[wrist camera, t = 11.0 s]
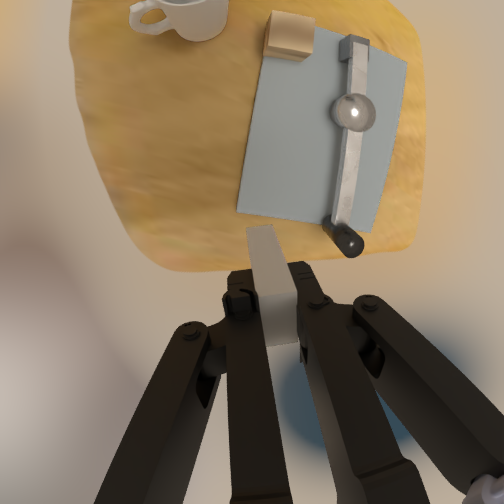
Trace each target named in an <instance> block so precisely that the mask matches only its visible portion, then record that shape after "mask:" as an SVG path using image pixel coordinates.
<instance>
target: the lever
mask: <svg viewBox="0 0 504 504" xmlns="http://www.w3.org/2000/svg"><path fill="white" fill-rule="evenodd" d="M369 46H370V40H369V39H365V38H362V37H359V36H356V35H352V34H350V35H348V36H346V37H345V38H343V39H342V40H340V50H339V62H342V63H347V64H348V81H347V95H343V96H341V97H339V98H338V99H337V100H336V102H335V104H334V107H333V115H334V118H335V120H336V122H337V124H338V125H339V126H340V127H341V128H343V136H342V145H341V153H340V162H339V169H338V177H337V184H336V191H335V198H334V204H333V210H332V214H330V215H327V216H326V217H325V218H324V219H323V222H322V228H323V230H324V231H325V232H326V234H327V235H328V236H329V237H330V238H331V239H332V241H333V242H334V243H335V244H336V246H337V247H338V248H339V249H340V250H341V252H342V253H343V254H344V255H345V256H346V257H348V258H355V257H357V256H359V255H360V254H361V253H362V251H363V249H364V240H363V239H362V238H361V237H360V236H359V235H358V234H357V233H356V232H355V231H354V230H353V229H352V228H351V227H350V226H349V222H350V216H351V211H352V205H353V200H354V194H355V187H356V181H357V174H358V167H359V160H360V152H361V144H362V135H363V132H365V131H367V130H369V129H370V128H371V127H372V126H373V124H374V123H375V120H376V110H375V107H374V104H373V103H372V101H371V100H370V99H369V98H368V97H366V84H367V63H368V62H369Z"/></svg>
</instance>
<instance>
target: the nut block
mask: <svg viewBox="0 0 504 504" xmlns="http://www.w3.org/2000/svg"><path fill="white" fill-rule="evenodd" d="M315 20H316V18H312V17H307V16H303V15H298V14H293V13H287V12H281V11H275V10H272V12H271V14H270V16H269V19H268V21H267V23H266V31H265V39H264V47H263V56H267V57H274V58H280V59H287V60H292V61H298V62H302V61H304V60H305V59H306V58H307V57H309V56H310V55H311V54H312V53H313V43H314V32H315Z"/></svg>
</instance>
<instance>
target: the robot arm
mask: <svg viewBox="0 0 504 504" xmlns="http://www.w3.org/2000/svg"><path fill="white" fill-rule="evenodd" d="M246 232H247V240H248V248H249V255H250V263H251V269H246V270H239V271H232V272H231V273H230V275H229V276H228V278H227V285H228V286H227V289H228V291H227V292H226V293H225V294H224V295H223V298H222V302H223V307H224V311H225V318H224V319H223V320H221V321H220V322H219V323H216V324H214V325H211V326H208V327H207V326H206V325H205V324H203V323H202V322H197V321H192V322H188V323H184V324H182V325H181V326H179V327H178V328H177V329H176V331H175V332H174V334H173V336H172V338H171V340H170V342H169V344H168V346H167V348H166V350H165V352H164V354H163V356H162V358H161V359H160V362H159V364H158V365H157V368H156V370H155V372H154V374H153V376H152V378H151V380H150V382H149V384H148V386H147V388H146V390H145V392H144V394H143V396H142V398H141V400H140V402H139V404H138V406H137V408H136V411H135V413H134V415H133V417H132V419H131V421H130V424H129V425H128V427H127V430H126V432H125V434H124V436H123V438H122V441H121V443H120V445H119V447H118V449H117V452H116V454H115V456H114V458H113V460H112V462H111V465H110V467H109V469H108V472H107V474H106V476H105V478H104V481H103V483H102V485H101V488H100V490H99V492H98V495H97V497H96V499H95V502H94V504H183V501H184V497H185V494H186V491H187V488H188V484H189V481H190V478H191V475H192V471H193V468H194V465H195V461H196V458H197V455H198V452H199V449H200V445H201V442H202V439H203V435H204V432H205V429H206V425H207V422H208V419H209V416H210V412H211V409H212V406H213V402H214V399H215V396H216V392H217V389H218V386H219V382H220V379H221V374H224V373H227V397H228V398H227V401H228V426H229V427H228V428H229V448H230V468H231V485H232V497H231V499H230V504H293V500H292V496H291V492H290V487H289V481H288V475H287V470H286V463H285V458H284V452H283V446H282V440H281V434H280V428H279V422H278V416H277V410H276V404H275V398H274V392H273V386H272V381H271V374H270V368H269V363H268V356H267V350H266V347H269V346H276V345H283V344H289V343H295V342H298V337H299V340H300V363H301V362H303V364H304V367H305V371H306V375H307V378H308V382H309V386H310V389H311V393H312V397H313V401H314V404H315V408H316V412H317V416H318V420H319V423H320V427H321V431H322V435H323V439H324V443H325V447H326V451H327V455H328V459H329V463H330V467H331V471H332V475H333V478H334V483H335V487H336V492H337V504H430V502H429V499H428V496H427V493H426V490H425V487H424V485H423V482H422V479H421V477H420V474H419V471H418V469H417V467H416V465H415V464H414V463H413V462H412V461H411V460H408V459H406V458H404V457H403V456H402V454H401V452H400V449H399V447H398V444H397V442H396V439H395V437H394V434H393V432H392V429H391V427H390V424H389V422H388V419H387V417H386V415H385V412H384V410H383V407H382V405H381V403H380V401H379V398H378V396H377V394H376V391H377V392H378V394H379V395H380V396H381V397H382V399H383V400H384V401H385V402H386V403H387V405H388V406H389V407H390V409H391V410H392V411H393V412H394V414H395V415H396V416H397V417H398V419H399V420H400V421H401V422H402V424H403V425H404V426H405V428H406V429H407V430H408V431H409V433H410V434H411V435H412V436H413V438H414V439H415V440H416V442H417V443H418V444H419V445H420V447H421V448H422V449H423V450H424V452H425V453H426V454H427V455H428V457H429V458H430V459H431V461H432V462H433V463H434V464H435V466H436V467H437V468H438V470H439V471H440V472H441V473H442V475H443V476H444V477H445V478H446V479H447V480H448V481H449V483H450V484H451V485H452V486H454V487H455V488H456V489H457V490H458V491H460V492H462V493H463V494H465V495H466V497H465V499H464V500H463V502H462V504H504V415H503V414H502V413H501V412H500V411H499V410H498V409H497V408H496V407H495V406H494V405H493V404H492V403H491V401H490V400H489V399H488V398H487V397H486V396H485V395H484V394H483V393H482V392H481V391H480V390H479V389H478V388H477V387H476V386H475V385H474V384H473V383H472V382H471V381H470V380H469V379H468V378H467V377H466V376H465V375H464V374H463V373H462V372H461V371H460V370H459V369H458V368H457V367H456V366H454V364H453V363H451V362H450V361H449V360H448V359H447V358H446V357H445V356H444V355H443V354H442V353H441V352H440V351H439V350H438V349H437V348H436V347H435V346H433V345H432V344H431V343H430V342H429V341H428V340H427V339H426V338H425V337H424V336H423V335H422V334H421V333H420V332H418V331H417V330H416V329H415V328H414V327H413V326H412V325H411V324H410V323H409V322H407V321H406V320H405V319H404V318H403V317H402V316H401V315H399V314H398V313H397V312H396V311H395V310H394V309H393V308H392V307H390V306H389V305H388V304H387V303H386V302H385V301H384V300H382V299H381V298H379V297H378V296H374V295H362V296H359V297H357V298H356V299H355V301H354V302H353V305H348V304H337V303H334V302H333V300H332V299H331V298H330V297H329V296H327V295H325V294H324V293H323V291H322V289H321V287H320V285H319V283H318V281H317V279H316V278H315V275H314V273H313V271H312V269H311V267H310V265H308V264H307V263H305V262H304V261H299V262H292V263H287V262H286V260H285V257H284V254H283V252H282V249H281V247H280V244H279V241H278V239H277V236H276V233H275V231H274V228H273V226H272V224H271V225H264V226H256V227H248V228H246ZM375 390H376V391H375Z"/></svg>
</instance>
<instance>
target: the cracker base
mask: <svg viewBox="0 0 504 504" xmlns="http://www.w3.org/2000/svg"><path fill="white" fill-rule="evenodd" d="M345 37H346V36H344V35H341V34H339V33H336V32H333V31H329V30H326V29H323V28H320V27H316V26H315V32H314V43H313V53H312V54H311V55H310V56H309V57H307V58H306V59H305V60H304V61H302V62H298V61H292V60H287V59H280V58H274V57H267V56H263V60H262V65H261V70H260V75H259V81H258V86H257V91H256V97H255V102H254V107H253V113H252V119H251V124H250V130H249V135H248V141H247V147H246V153H245V159H244V164H243V170H242V176H241V182H240V188H239V195H238V201H237V207H236V212H238V213H245V214H253V215H260V216H267V217H274V218H281V219H288V220H295V221H301V222H308V223H314V224H320V225H322V222H323V219H324V218H325V217H326V216H327V215H330V214H332V210H333V204H334V198H335V191H336V184H337V177H338V169H339V162H340V153H341V145H342V136H343V128H341V127H340V126H339V125H338V124H337V122H336V120H335V118H334V115H333V107H334V104H335V102H336V100H337V99H338V98H339V97H341V96H343V95H347V81H348V64H347V63H342V62H339V50H340V40H342V39H343V38H345ZM406 70H407V62H405V61H403V60H401V59H399V58H397V57H395V56H393V55H391V54H388V53H386V52H384V51H382V50H380V49H377V48H375V47H373V46H369V62H368V63H367V84H366V97H368V98H369V99H370V100H371V101H372V103H373V104H374V107H375V110H376V120H375V123H374V124H373V126H372V127H371V128H370V129H369V130H367V131H365V132H363V135H362V144H361V152H360V160H359V167H358V174H357V181H356V187H355V194H354V200H353V205H352V211H351V216H350V222H349V226H350V227H351V228H352V229H353V230H356V231H362V232H367V233H371V230H372V227H373V223H374V220H375V217H376V213H377V210H378V206H379V203H380V199H381V196H382V192H383V188H384V184H385V181H386V177H387V173H388V169H389V164H390V160H391V156H392V151H393V147H394V142H395V137H396V132H397V127H398V122H399V117H400V111H401V105H402V99H403V92H404V85H405V78H406Z"/></svg>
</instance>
